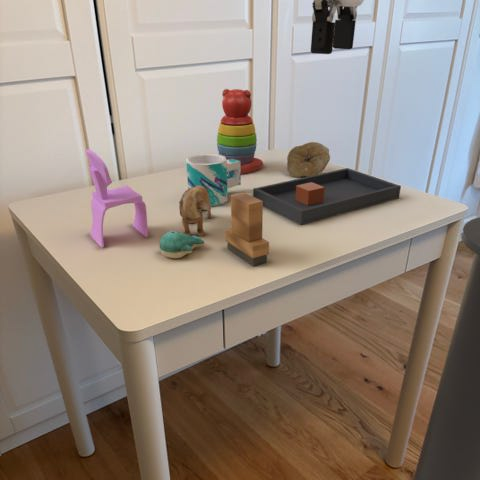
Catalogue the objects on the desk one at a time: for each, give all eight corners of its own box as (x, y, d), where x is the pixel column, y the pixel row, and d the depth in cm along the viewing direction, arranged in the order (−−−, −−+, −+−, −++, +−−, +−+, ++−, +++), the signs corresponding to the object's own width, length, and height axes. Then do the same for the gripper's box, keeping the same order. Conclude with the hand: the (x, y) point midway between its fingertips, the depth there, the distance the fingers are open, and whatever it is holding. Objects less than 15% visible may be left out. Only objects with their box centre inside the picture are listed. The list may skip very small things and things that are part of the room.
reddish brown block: (323, 202, 98) (324, 187, 96) (307, 205, 96) (308, 190, 95) (310, 196, 101) (311, 181, 99) (295, 200, 99) (295, 185, 97)
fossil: (285, 145, 116) (328, 136, 113) (289, 155, 120) (330, 148, 117) (286, 178, 113) (330, 171, 111) (290, 188, 117) (332, 181, 115)
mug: (180, 199, 102) (177, 158, 97) (223, 186, 109) (222, 147, 104) (206, 209, 97) (204, 166, 92) (250, 195, 104) (250, 154, 99)
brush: (268, 262, 77) (270, 203, 72) (252, 267, 76) (253, 207, 70) (241, 244, 83) (240, 189, 78) (225, 249, 81) (224, 192, 76)
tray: (346, 179, 112) (347, 167, 111) (399, 198, 101) (401, 185, 100) (253, 201, 101) (253, 188, 99) (300, 225, 90) (301, 211, 88)
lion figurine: (212, 244, 83) (209, 191, 78) (180, 245, 83) (176, 192, 78) (212, 212, 95) (210, 165, 90) (184, 213, 95) (181, 166, 90)
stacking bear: (265, 165, 122) (266, 86, 113) (251, 176, 115) (251, 93, 105) (225, 161, 126) (223, 84, 116) (209, 172, 118) (205, 91, 108)
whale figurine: (154, 251, 81) (151, 229, 79) (193, 240, 84) (191, 219, 82) (170, 264, 77) (168, 241, 75) (210, 252, 80) (209, 230, 78)
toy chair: (153, 238, 85) (143, 149, 77) (104, 250, 81) (87, 157, 73) (135, 223, 91) (123, 139, 83) (88, 233, 87) (71, 146, 79)
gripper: (353, -104, 59) (336, 57, 69) (389, -85, 72) (371, 48, 82) (295, -99, 62) (287, 54, 72) (340, -82, 75) (328, 46, 85)
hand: (332, 51), depth 77 cm, fingers open, 9 cm apart
